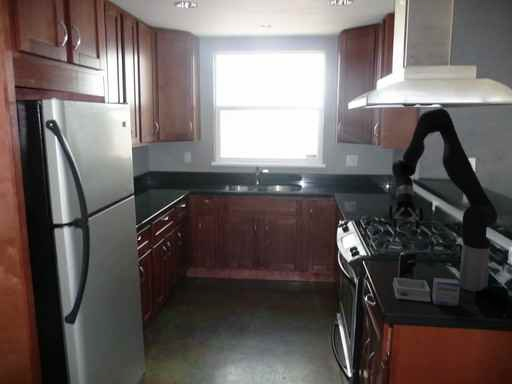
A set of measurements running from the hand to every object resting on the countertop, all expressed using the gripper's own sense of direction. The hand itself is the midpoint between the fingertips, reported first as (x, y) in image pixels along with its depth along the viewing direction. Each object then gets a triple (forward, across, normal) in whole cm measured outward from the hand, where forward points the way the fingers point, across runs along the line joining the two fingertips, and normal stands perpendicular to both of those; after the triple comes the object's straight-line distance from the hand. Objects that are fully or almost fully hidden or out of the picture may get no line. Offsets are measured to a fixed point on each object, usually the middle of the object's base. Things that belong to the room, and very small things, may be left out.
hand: (406, 228), depth 176 cm
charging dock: (+30, 0, -5) cm, 31 cm away
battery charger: (+22, 0, +4) cm, 22 cm away
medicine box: (+35, +11, -9) cm, 38 cm away
